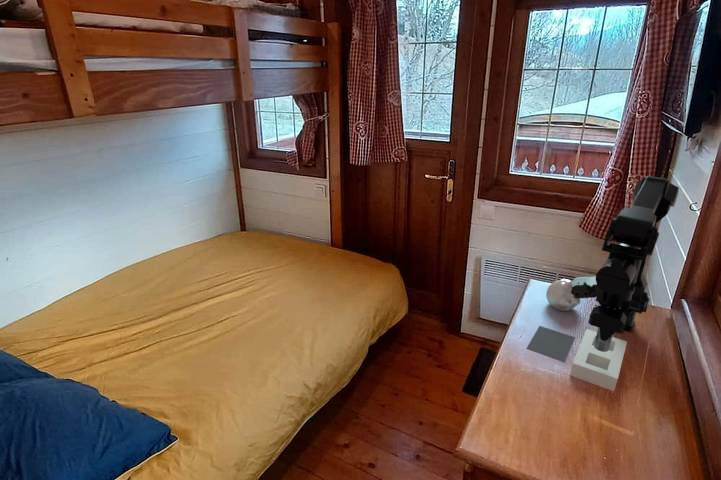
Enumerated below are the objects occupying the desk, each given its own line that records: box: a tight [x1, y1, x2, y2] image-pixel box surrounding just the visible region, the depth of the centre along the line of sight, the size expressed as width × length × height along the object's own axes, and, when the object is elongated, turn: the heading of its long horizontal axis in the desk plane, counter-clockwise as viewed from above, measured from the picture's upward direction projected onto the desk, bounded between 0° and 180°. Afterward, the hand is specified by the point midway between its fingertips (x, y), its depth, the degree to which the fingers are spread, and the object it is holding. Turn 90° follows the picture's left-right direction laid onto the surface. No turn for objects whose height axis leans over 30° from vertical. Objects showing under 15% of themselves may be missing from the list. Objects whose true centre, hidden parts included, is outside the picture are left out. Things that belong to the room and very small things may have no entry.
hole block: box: [569, 329, 628, 392], centre depth 103 cm, size 16×9×4 cm, turn 144°
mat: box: [525, 325, 576, 363], centre depth 111 cm, size 12×9×1 cm
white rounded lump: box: [545, 278, 581, 312], centre depth 124 cm, size 9×10×10 cm
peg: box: [594, 306, 616, 352], centre depth 95 cm, size 3×3×10 cm
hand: (604, 336), depth 96 cm, fingers closed on peg, 3 cm apart
